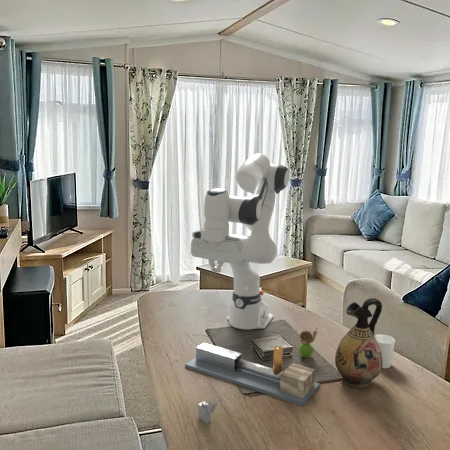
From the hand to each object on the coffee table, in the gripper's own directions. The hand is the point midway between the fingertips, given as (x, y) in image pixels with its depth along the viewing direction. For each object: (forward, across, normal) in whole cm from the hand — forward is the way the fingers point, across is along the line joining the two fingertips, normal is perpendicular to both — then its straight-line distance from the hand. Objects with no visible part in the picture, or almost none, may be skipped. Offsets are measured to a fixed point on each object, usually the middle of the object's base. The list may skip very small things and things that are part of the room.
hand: (216, 271), depth 178 cm
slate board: (+33, -18, +6) cm, 38 cm away
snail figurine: (+33, -29, -19) cm, 48 cm away
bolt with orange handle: (+31, -23, +6) cm, 39 cm away
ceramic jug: (+33, -51, -12) cm, 62 cm away
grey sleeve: (+32, -5, +6) cm, 33 cm away
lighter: (+33, -21, +36) cm, 53 cm away
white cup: (+33, -54, -29) cm, 70 cm away
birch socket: (+32, -36, +6) cm, 48 cm away
